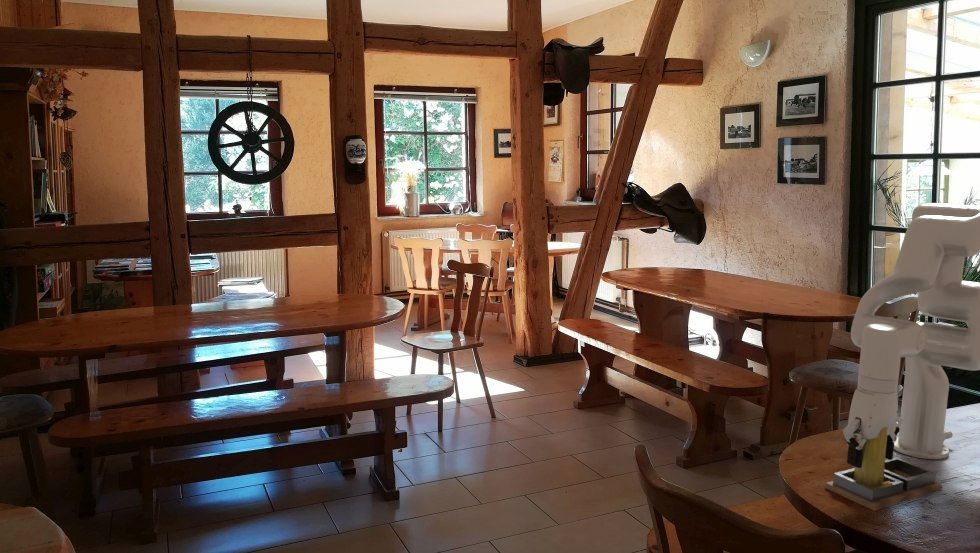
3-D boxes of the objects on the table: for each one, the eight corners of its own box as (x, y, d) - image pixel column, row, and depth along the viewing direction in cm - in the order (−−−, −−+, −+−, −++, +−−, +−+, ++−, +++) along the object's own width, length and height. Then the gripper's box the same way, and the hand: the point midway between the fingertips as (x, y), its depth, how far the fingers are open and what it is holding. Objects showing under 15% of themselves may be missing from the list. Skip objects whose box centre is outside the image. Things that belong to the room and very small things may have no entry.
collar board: (892, 469, 185) (892, 464, 184) (941, 490, 174) (942, 485, 174) (825, 488, 174) (825, 482, 174) (874, 510, 164) (874, 505, 164)
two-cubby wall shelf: (895, 467, 183) (896, 454, 183) (935, 483, 175) (936, 469, 174) (832, 484, 174) (834, 470, 173) (871, 502, 165) (873, 488, 165)
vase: (886, 495, 168) (894, 430, 166) (854, 492, 169) (862, 427, 167) (879, 484, 174) (886, 420, 172) (848, 480, 175) (855, 417, 173)
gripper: (888, 373, 175) (881, 448, 178) (833, 384, 167) (826, 462, 170) (921, 383, 168) (912, 460, 171) (865, 394, 160) (857, 475, 163)
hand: (869, 461), depth 171 cm, fingers open, 9 cm apart
